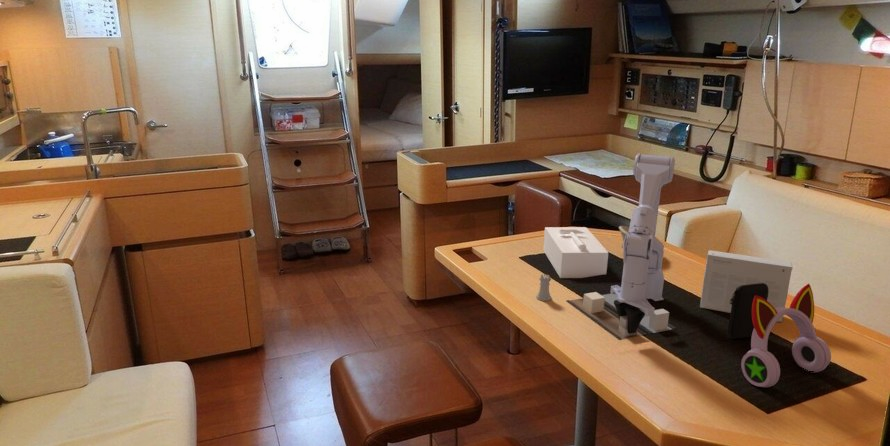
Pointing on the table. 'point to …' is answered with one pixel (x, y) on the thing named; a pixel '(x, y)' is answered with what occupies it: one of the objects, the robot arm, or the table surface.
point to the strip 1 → (609, 321)
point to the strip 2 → (648, 317)
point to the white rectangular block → (575, 252)
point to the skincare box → (742, 279)
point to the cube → (593, 302)
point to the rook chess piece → (544, 288)
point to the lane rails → (616, 316)
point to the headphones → (805, 348)
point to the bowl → (623, 232)
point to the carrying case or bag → (744, 309)
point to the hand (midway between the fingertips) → (628, 329)
